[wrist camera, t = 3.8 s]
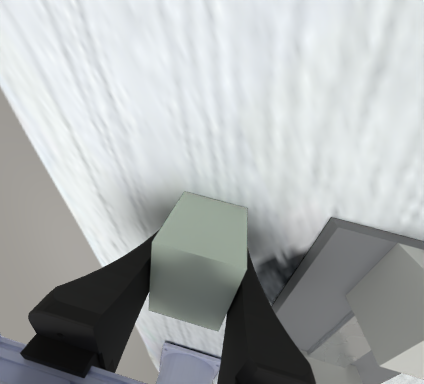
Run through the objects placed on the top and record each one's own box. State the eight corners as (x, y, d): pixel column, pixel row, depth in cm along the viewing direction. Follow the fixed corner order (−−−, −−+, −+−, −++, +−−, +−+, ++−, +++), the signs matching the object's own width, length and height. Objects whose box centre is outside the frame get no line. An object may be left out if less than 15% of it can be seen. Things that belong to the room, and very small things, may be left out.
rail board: (353, 382, 21) (360, 399, 20) (243, 348, 22) (243, 363, 21) (545, 273, 11) (581, 295, 10) (331, 217, 12) (341, 231, 11)
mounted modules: (326, 385, 20) (342, 444, 17) (273, 368, 21) (278, 424, 17) (505, 271, 10) (632, 359, 7) (397, 242, 11) (468, 314, 7)
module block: (226, 265, 16) (218, 331, 11) (175, 250, 16) (148, 310, 11) (247, 208, 13) (246, 268, 8) (184, 191, 13) (152, 242, 8)
